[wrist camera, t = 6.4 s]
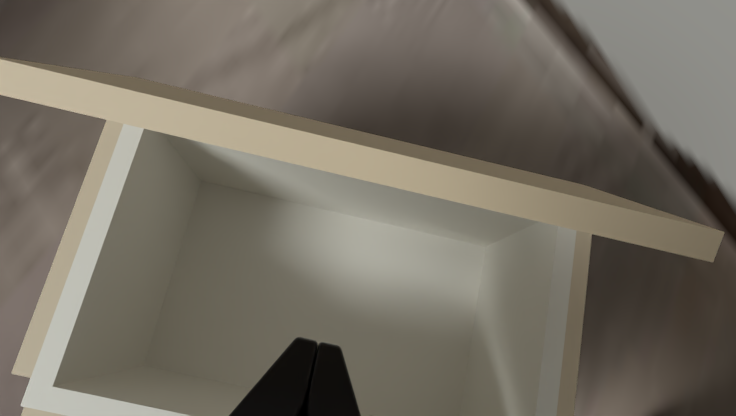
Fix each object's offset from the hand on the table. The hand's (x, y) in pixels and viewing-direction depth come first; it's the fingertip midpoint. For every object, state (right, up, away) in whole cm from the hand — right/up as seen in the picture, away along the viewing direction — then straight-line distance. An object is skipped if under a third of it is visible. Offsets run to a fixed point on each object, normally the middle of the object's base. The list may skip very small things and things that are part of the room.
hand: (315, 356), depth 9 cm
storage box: (-1, -1, +12) cm, 12 cm away
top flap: (+1, +4, +3) cm, 5 cm away
